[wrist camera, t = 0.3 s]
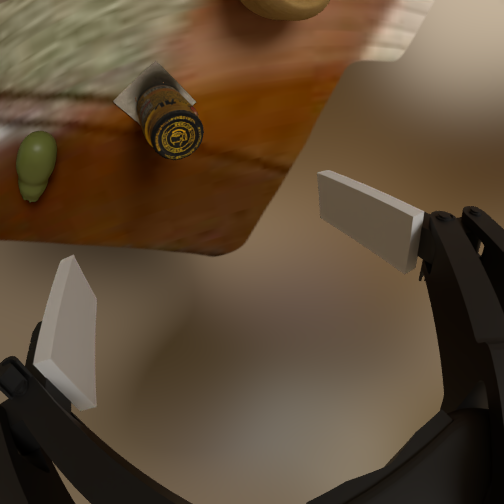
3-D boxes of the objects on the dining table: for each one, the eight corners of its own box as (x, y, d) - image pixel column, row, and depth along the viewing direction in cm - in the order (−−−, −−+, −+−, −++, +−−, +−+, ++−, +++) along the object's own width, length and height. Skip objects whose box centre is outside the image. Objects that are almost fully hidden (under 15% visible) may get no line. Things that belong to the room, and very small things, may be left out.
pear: (57, 149, 25) (46, 212, 31) (64, 127, 28) (50, 187, 33) (15, 143, 21) (10, 208, 27) (26, 121, 24) (17, 182, 30)
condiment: (156, 138, 36) (175, 180, 28) (112, 101, 29) (115, 132, 22) (195, 101, 34) (228, 132, 27) (155, 60, 28) (175, 74, 21)
